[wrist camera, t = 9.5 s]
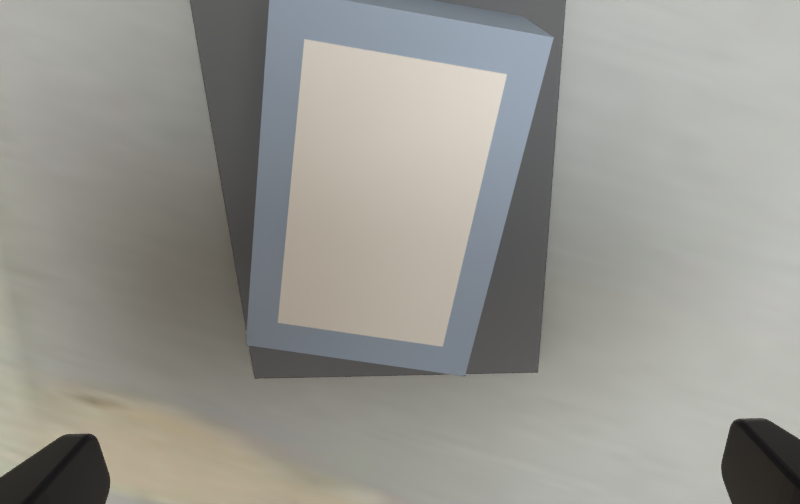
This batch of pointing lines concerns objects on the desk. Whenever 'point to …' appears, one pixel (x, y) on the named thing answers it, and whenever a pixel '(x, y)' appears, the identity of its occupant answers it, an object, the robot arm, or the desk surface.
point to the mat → (523, 231)
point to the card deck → (386, 175)
